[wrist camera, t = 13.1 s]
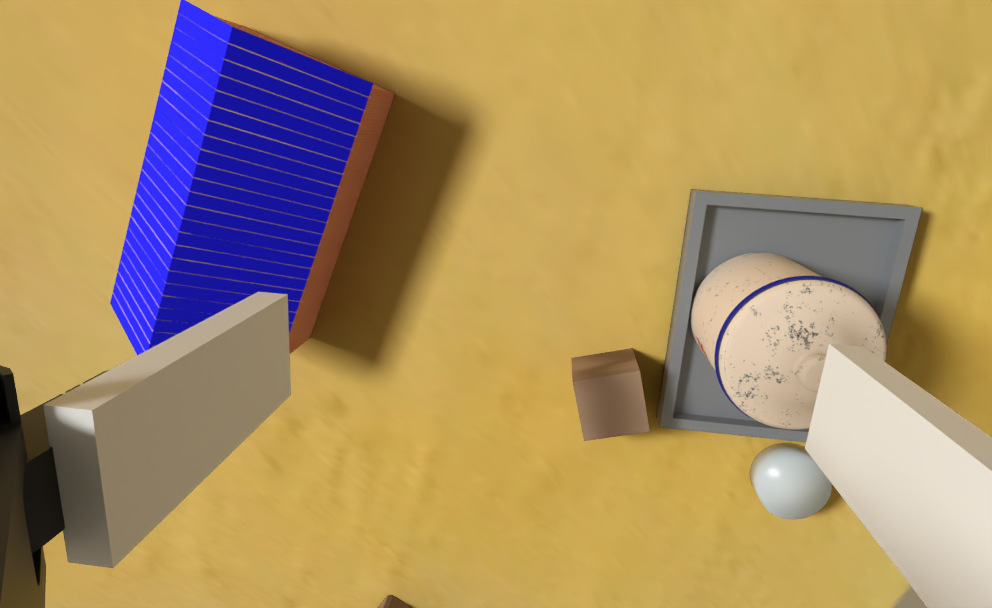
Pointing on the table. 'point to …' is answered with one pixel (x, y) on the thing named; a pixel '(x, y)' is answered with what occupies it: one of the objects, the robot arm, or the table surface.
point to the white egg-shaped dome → (789, 481)
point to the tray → (795, 235)
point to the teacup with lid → (777, 333)
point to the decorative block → (393, 603)
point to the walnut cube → (609, 395)
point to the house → (243, 180)
